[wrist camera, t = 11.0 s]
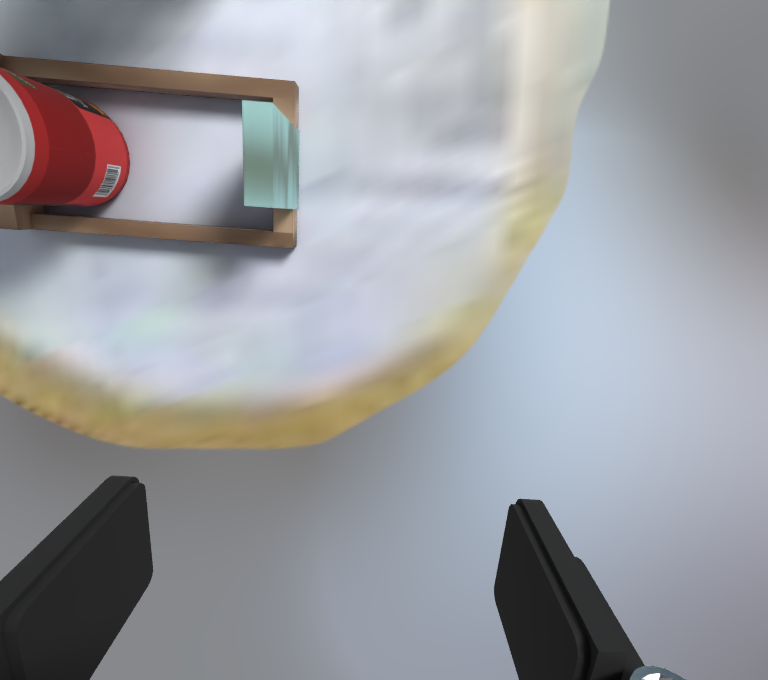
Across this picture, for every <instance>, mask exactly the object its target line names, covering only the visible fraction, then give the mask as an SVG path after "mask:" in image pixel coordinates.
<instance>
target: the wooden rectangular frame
mask: <svg viewBox="0 0 768 680" xmlns="http://www.w3.org/2000/svg"><path fill="white" fill-rule="evenodd" d="M0 67H1V68H3V69H6V70H9V71H11V72H14V73H16V74H19V75H21V76H24V77H26V78H29V79H31V80H34V81H36V82H40V83H52V84H63V85H75V86H87V87H98V88H110V89H122V90H133V91H145V92H157V93H168V94H180V95H192V96H203V97H215V98H227V99H238V100H242V125H243V174H244V206H255V207H268V208H273V231H270V230H257V229H243V228H230V227H217V226H203V225H190V224H176V223H163V222H150V221H136V220H123V219H110V218H96V217H83V216H70V215H56V214H45V213H44V206H43V205H0V228H2V229H15V230H22V229H38V230H52V231H65V232H79V233H92V234H106V235H120V236H133V237H147V238H160V239H174V240H188V241H201V242H215V243H228V244H242V245H256V246H269V247H283V248H295V247H296V242H297V209H298V185H299V130H298V97H299V87H298V86H297V84H296V82H295V81H286V80H274V79H263V78H251V77H240V76H229V75H217V74H206V73H194V72H183V71H172V70H160V69H149V68H137V67H126V66H115V65H103V64H92V63H80V62H69V61H58V60H46V59H35V58H23V57H12V56H3V55H1V54H0ZM247 100H250V101H247ZM258 101H262V102H258ZM270 102H273V103H270Z"/></svg>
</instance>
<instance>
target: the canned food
mask: <svg viewBox="0 0 768 680" xmlns="http://www.w3.org/2000/svg"><path fill="white" fill-rule="evenodd" d="M129 167H130V159H129V152H128V148H127V144H126V142H125V140H124V137H123V135H122V133H121V132H120V130H119V129H118V127H117V126H116V125H115V123H114V122H113V121H112V120H111V119H110V118H109V117H108V116H107V115H106V114H105V113H104V112H103V111H101V110H100V109H99V108H97V107H96V106H94V105H93V104H91V103H89V102H87V101H84V100H82V99H79V98H77V97H74V96H72V95H69V94H67V93H64V92H62V91H59V90H57V89H54V88H52V87H49V86H46V85H44V84H41V83H39V82H36V81H34V80H31V79H29V78H26V77H24V76H21V75H19V74H16V73H14V72H11V71H9V70H6V69H3V68H1V67H0V205H43V206H95V205H99V204H102V203H104V202H107V201H108V200H110V199H112V198H113V197H114V196H116V195H117V194H118V193H119V192H120V191H121V190H122V188H123V187H124V185H125V183H126V181H127V178H128V174H129Z"/></svg>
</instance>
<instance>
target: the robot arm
mask: <svg viewBox="0 0 768 680" xmlns="http://www.w3.org/2000/svg"><path fill="white" fill-rule="evenodd" d="M152 573H153V565H152V553H151V543H150V533H149V522H148V511H147V502H146V490H145V486H144V484H142V483H139V480H138V479H137V478H136V477H127V476H110V477H109V478H107V479H106V480H105V481H104V482H103V483H102V484H101V485H100V486H99V487H98V488H97V489H96V490H95V491H94V492H93V493H92V494H91V495H90V496H88V497H87V499H85V500H84V501H83V502H82V503H81V504H80V505H79V506H78V507H77V508H76V509H75V510H74V511H73V512H72V513H71V514H70V515H69V516H68V517H67V518H66V519H65V520H63V522H61V523H60V524H59V525H58V526H57V527H56V528H55V529H54V530H53V531H52V532H51V533H50V534H49V535H48V536H47V537H46V538H45V539H44V540H43V541H42V542H41V543H40V544H38V545H37V547H35V548H34V549H33V550H32V551H31V552H30V553H29V554H28V555H27V556H26V557H25V558H24V559H23V560H22V561H21V562H20V563H19V564H18V565H17V566H16V567H15V568H14V569H13V570H11V571H10V572H9V573H8V574H7V575H6V576H5V577H4V578H3V579H2V580H1V581H0V680H89V679H90V678H91V676H92V675H93V673H94V671H95V670H96V668H97V667H98V665H99V663H100V662H101V660H102V659H103V657H104V655H105V654H106V652H107V651H108V649H109V647H110V646H111V644H112V643H113V641H114V639H115V638H116V636H117V635H118V633H119V632H120V630H121V628H122V627H123V625H124V624H125V622H126V620H127V619H128V617H129V616H130V614H131V612H132V611H133V609H134V608H135V606H136V604H137V603H138V601H139V600H140V598H141V596H142V595H143V593H144V591H145V590H146V588H147V587H148V585H149V583H150V581H151V578H152ZM494 595H495V602H496V605H497V608H498V612H499V615H500V618H501V622H502V625H503V628H504V631H505V635H506V638H507V641H508V645H509V648H510V651H511V654H512V658H513V661H514V664H515V667H516V671H517V674H518V677H519V680H686V679H684V678H683V677H681V676H680V675H678V674H676V673H673V672H671V671H669V670H667V669H665V668H661V667H656V666H645V665H644V664H643V662H642V660H641V659H640V657H639V655H638V653H637V652H636V650H635V649H634V647H633V645H632V643H631V642H630V640H629V638H628V637H627V635H626V633H625V632H624V630H623V628H622V627H621V625H620V623H619V622H618V620H617V618H616V617H615V615H614V613H613V612H612V610H611V608H610V607H609V605H608V603H607V601H606V600H605V598H604V597H603V595H602V593H601V591H600V590H599V588H598V586H597V585H596V583H595V581H594V580H593V578H592V576H591V574H590V573H589V571H588V570H587V568H586V566H585V565H584V563H583V562H582V561H581V560H580V559H579V558H577V557H574V556H573V554H572V552H571V550H570V548H569V547H568V545H567V543H566V542H565V540H564V538H563V536H562V535H561V533H560V531H559V529H558V528H557V526H556V524H555V522H554V521H553V519H552V517H551V516H550V514H549V512H548V510H547V509H546V507H545V505H544V504H543V502H542V501H540V500H530V499H518V500H517V502H516V504H514V505H513V504H511V505H510V507H509V510H508V516H507V521H506V526H505V532H504V537H503V542H502V548H501V553H500V558H499V564H498V569H497V575H496V580H495V586H494Z"/></svg>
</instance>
